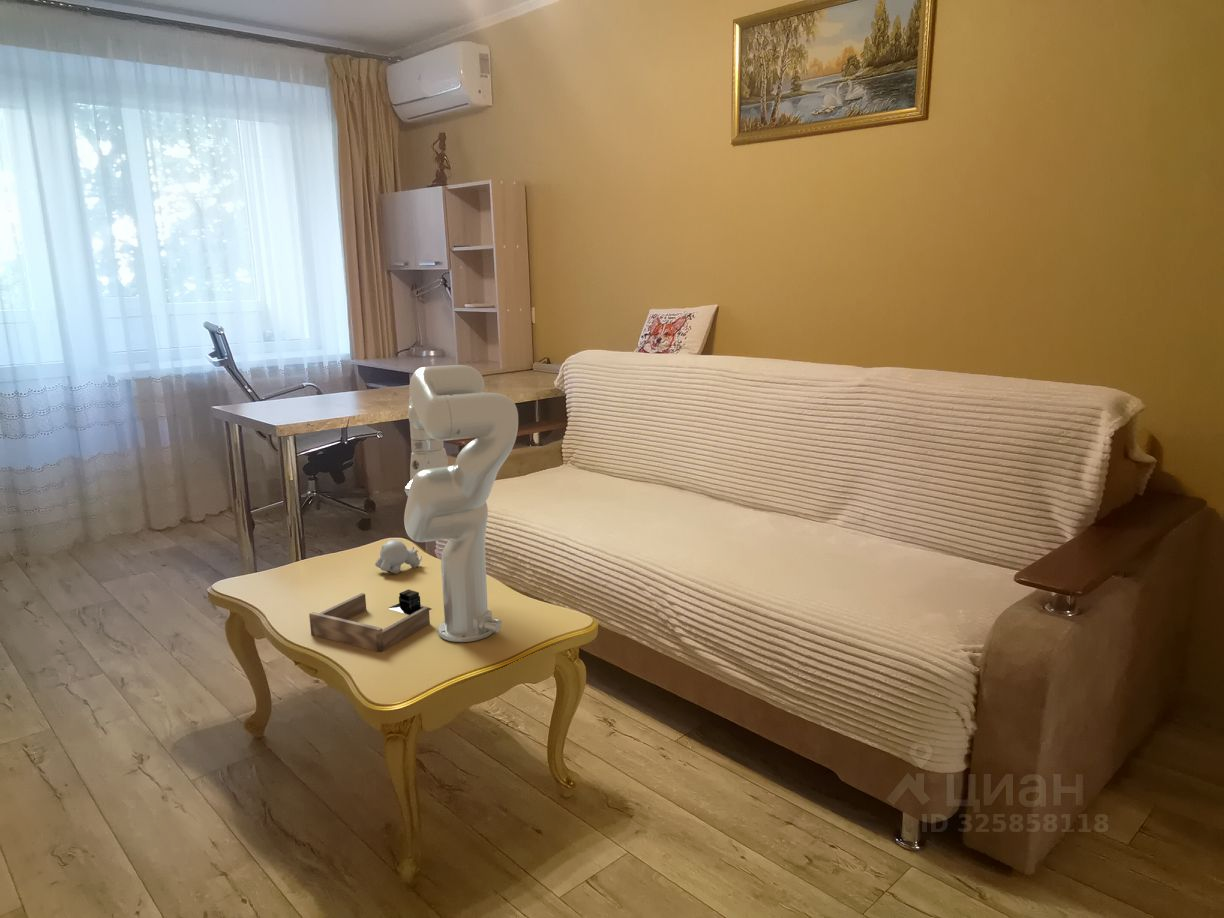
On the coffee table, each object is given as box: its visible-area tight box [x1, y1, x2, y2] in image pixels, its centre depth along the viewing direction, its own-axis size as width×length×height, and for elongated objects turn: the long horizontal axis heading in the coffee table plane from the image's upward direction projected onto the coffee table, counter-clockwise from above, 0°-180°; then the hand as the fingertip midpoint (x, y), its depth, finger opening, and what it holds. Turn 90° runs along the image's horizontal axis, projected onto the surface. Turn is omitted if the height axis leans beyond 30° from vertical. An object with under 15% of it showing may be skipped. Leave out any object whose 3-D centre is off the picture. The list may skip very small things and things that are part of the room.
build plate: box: [387, 589, 432, 616], centre depth 191 cm, size 12×7×5 cm, turn 56°
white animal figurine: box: [374, 539, 423, 575], centre depth 217 cm, size 7×12×8 cm, turn 124°
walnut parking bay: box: [308, 592, 431, 653], centre depth 179 cm, size 20×16×5 cm
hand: (431, 513), depth 197 cm, fingers open, 9 cm apart
